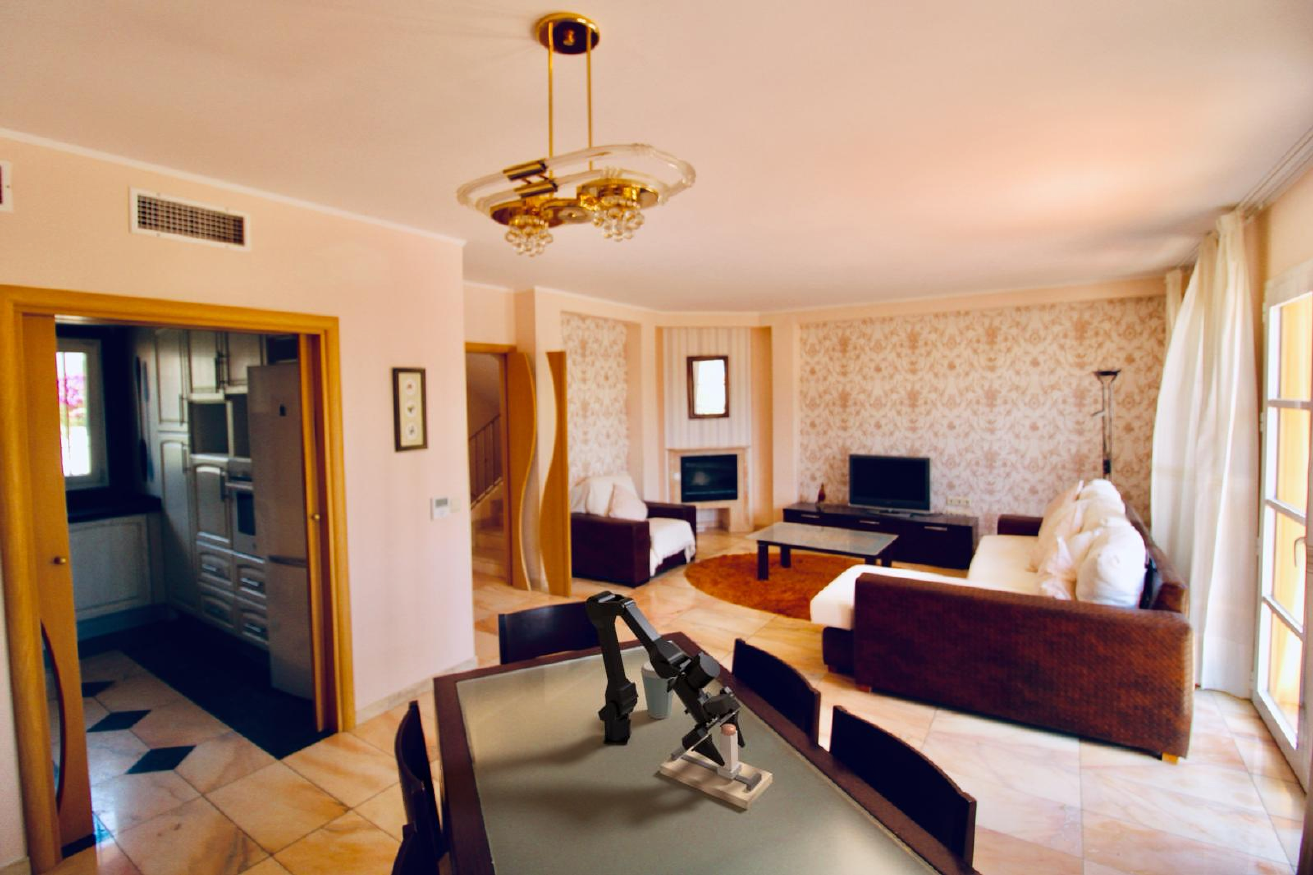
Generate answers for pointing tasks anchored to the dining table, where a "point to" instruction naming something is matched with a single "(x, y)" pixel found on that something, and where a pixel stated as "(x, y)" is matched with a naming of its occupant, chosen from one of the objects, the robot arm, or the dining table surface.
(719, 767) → the slider lever
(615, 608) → the robot arm
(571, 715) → the dining table surface
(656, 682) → the disposable coffee cup
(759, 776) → the slider console
